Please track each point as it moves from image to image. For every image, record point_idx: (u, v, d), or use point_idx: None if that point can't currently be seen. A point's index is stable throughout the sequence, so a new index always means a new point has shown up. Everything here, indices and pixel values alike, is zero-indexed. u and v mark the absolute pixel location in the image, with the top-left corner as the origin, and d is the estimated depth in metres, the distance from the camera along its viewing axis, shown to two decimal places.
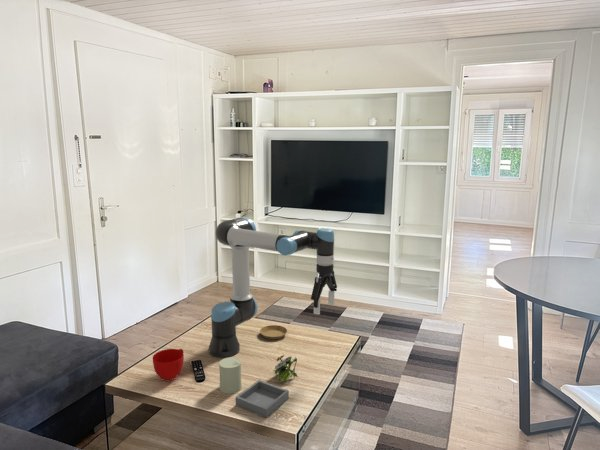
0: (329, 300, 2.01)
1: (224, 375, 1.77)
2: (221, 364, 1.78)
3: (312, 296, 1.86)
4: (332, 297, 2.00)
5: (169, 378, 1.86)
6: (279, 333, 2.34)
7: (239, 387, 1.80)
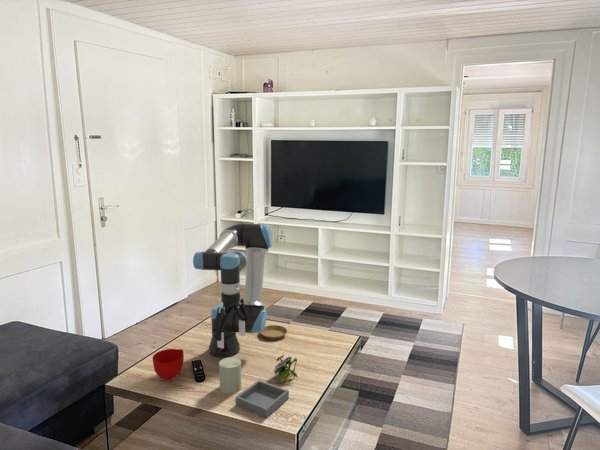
0: (240, 330, 1.84)
1: (224, 375, 1.77)
2: (221, 364, 1.78)
3: (214, 328, 1.69)
4: (242, 327, 1.83)
5: (169, 378, 1.86)
6: (279, 333, 2.34)
7: (239, 387, 1.80)
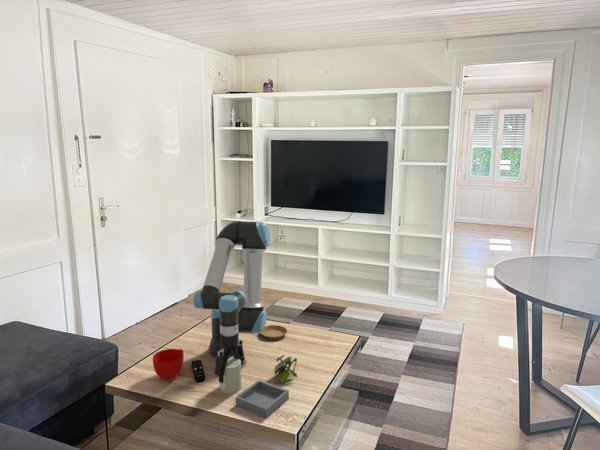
0: None
1: None
2: None
3: (215, 371, 1.74)
4: None
5: (169, 378, 1.86)
6: (279, 333, 2.34)
7: (239, 387, 1.80)
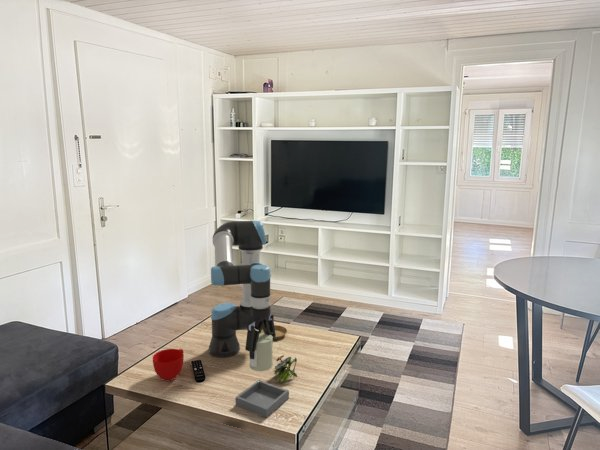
0: None
1: None
2: None
3: (246, 347, 1.61)
4: None
5: (169, 378, 1.86)
6: (279, 333, 2.34)
7: (271, 364, 1.67)
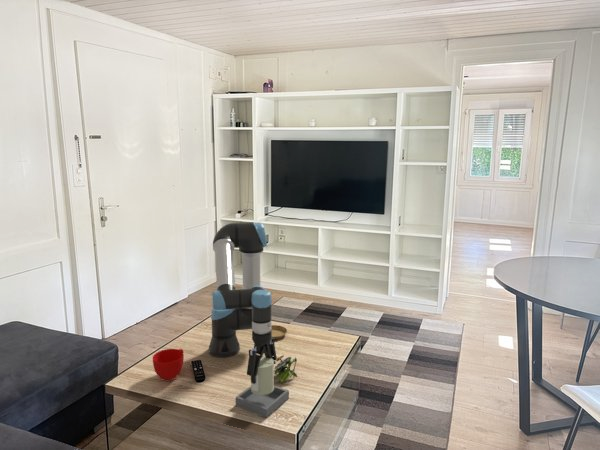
0: None
1: None
2: None
3: (248, 372, 1.63)
4: None
5: (169, 378, 1.86)
6: (279, 333, 2.34)
7: (272, 388, 1.69)
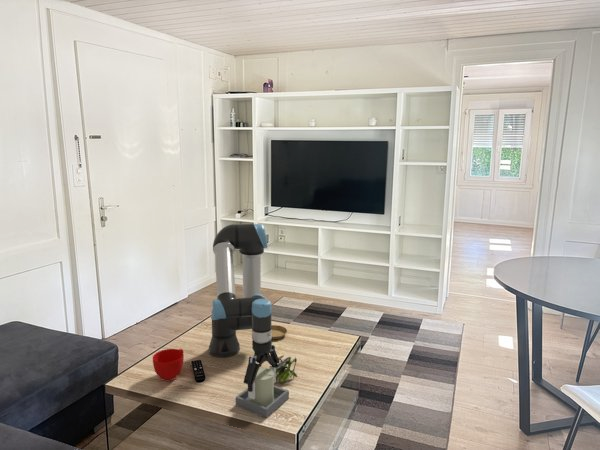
0: None
1: (257, 387, 1.66)
2: None
3: (245, 379, 1.62)
4: None
5: (169, 378, 1.86)
6: (279, 333, 2.34)
7: (272, 400, 1.70)
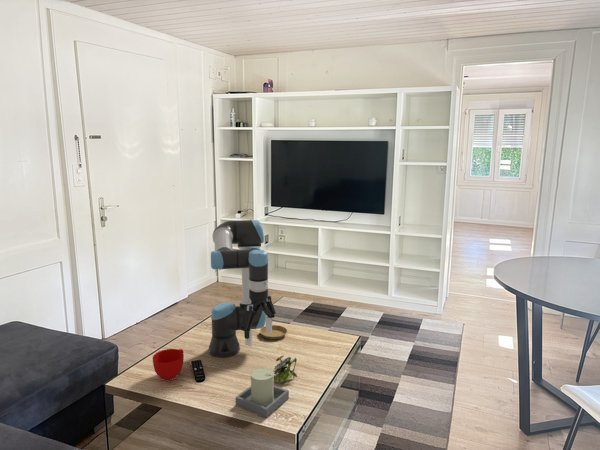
0: (266, 327, 1.81)
1: (257, 387, 1.66)
2: (253, 376, 1.68)
3: (242, 326, 1.66)
4: (269, 324, 1.80)
5: (169, 378, 1.86)
6: (279, 333, 2.34)
7: (272, 400, 1.70)
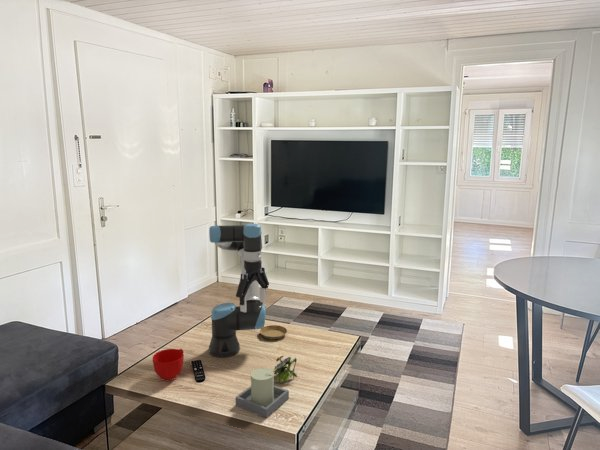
0: (260, 297, 1.95)
1: (257, 387, 1.66)
2: (253, 376, 1.68)
3: (237, 293, 1.80)
4: (263, 294, 1.94)
5: (169, 378, 1.86)
6: (279, 333, 2.34)
7: (272, 400, 1.70)
